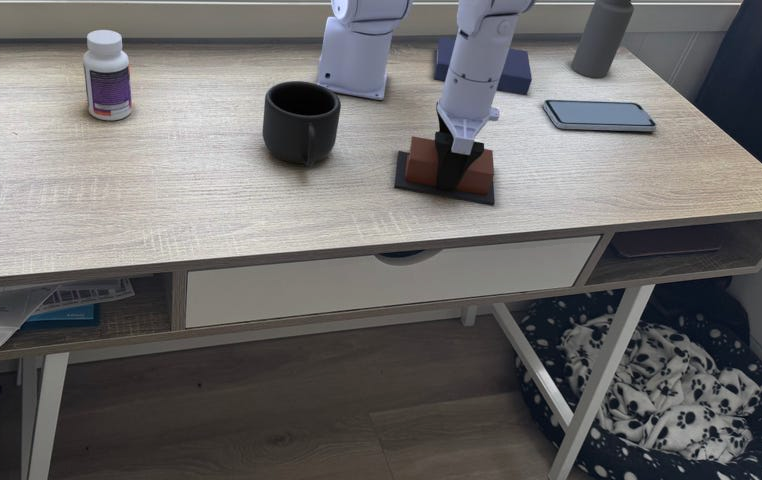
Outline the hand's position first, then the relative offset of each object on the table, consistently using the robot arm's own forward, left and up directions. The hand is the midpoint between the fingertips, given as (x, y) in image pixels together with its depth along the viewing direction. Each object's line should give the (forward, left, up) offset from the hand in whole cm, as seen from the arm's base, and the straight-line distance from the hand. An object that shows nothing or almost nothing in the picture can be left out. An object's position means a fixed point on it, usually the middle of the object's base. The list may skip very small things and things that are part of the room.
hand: (445, 174), depth 90 cm
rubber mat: (0, 0, 0) cm, 0 cm away
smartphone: (+22, +23, -1) cm, 32 cm away
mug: (-18, -1, -1) cm, 18 cm away
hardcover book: (+5, +32, 0) cm, 32 cm away
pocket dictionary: (0, 0, 0) cm, 0 cm away
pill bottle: (-43, +2, -1) cm, 43 cm away
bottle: (+23, +40, -1) cm, 46 cm away
